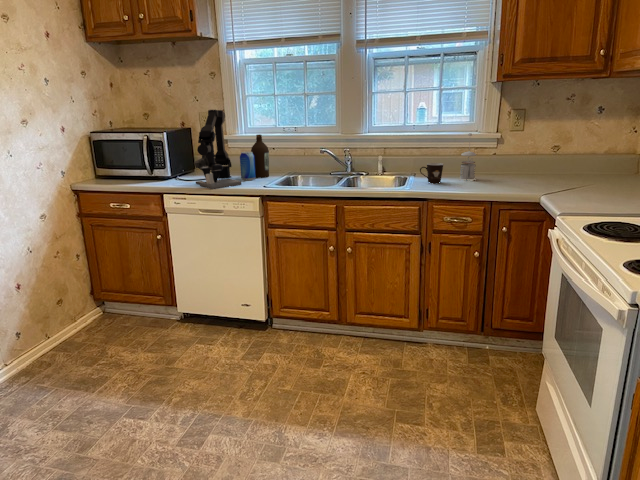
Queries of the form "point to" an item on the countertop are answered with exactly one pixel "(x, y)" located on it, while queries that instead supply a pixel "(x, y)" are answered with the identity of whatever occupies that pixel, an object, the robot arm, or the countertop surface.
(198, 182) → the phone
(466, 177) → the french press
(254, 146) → the olive oil
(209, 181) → the block
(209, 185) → the outlet plate
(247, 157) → the beer can
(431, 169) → the coffee mug
